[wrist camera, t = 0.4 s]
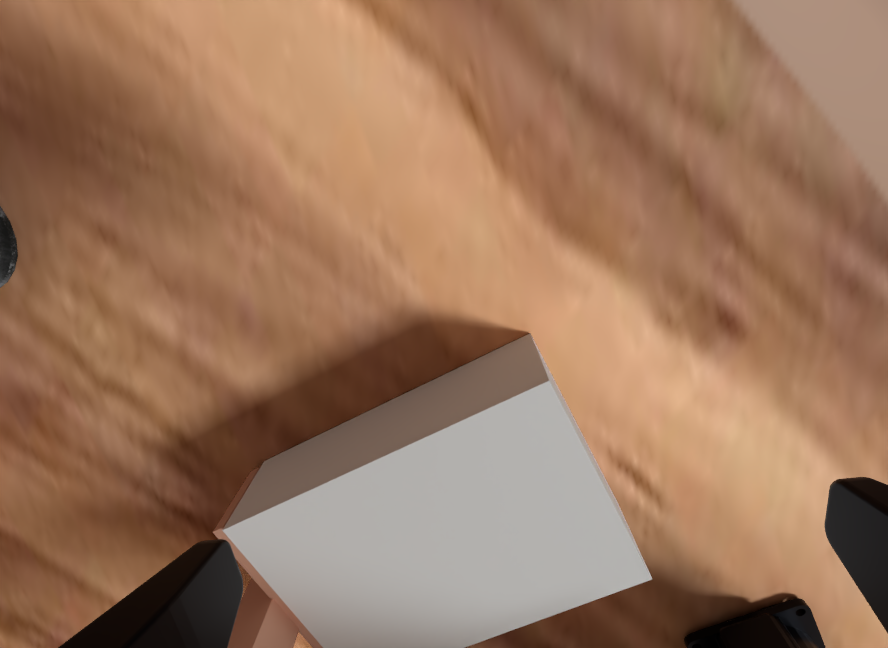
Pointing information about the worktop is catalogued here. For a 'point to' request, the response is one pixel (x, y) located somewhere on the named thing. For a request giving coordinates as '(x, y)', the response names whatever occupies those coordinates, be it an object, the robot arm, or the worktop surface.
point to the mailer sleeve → (441, 514)
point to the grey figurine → (7, 249)
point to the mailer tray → (260, 601)
